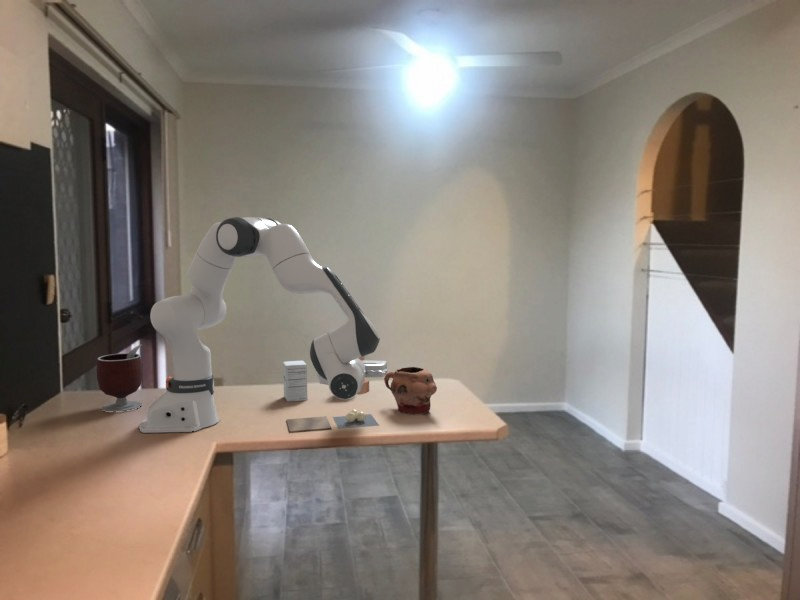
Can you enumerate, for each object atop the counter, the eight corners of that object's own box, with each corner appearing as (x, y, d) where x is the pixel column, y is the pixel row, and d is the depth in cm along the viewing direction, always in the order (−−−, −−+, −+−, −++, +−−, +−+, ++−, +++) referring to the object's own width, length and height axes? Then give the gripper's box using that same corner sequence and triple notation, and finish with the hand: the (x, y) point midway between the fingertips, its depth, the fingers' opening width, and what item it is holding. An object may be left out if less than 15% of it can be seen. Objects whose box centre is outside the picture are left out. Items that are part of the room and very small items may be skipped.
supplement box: (283, 396, 221) (282, 361, 220) (304, 395, 223) (303, 359, 222) (286, 402, 214) (285, 365, 213) (308, 400, 216) (307, 363, 215)
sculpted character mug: (373, 411, 202) (372, 368, 200) (393, 402, 212) (392, 362, 210) (427, 420, 191) (427, 375, 190) (446, 411, 202) (446, 368, 200)
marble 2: (346, 424, 186) (346, 414, 186) (345, 421, 189) (344, 411, 189) (356, 423, 187) (356, 413, 187) (354, 420, 190) (354, 410, 189)
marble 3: (357, 423, 187) (356, 413, 187) (355, 420, 190) (355, 410, 189) (366, 422, 188) (366, 412, 187) (365, 419, 191) (364, 410, 190)
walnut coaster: (289, 434, 179) (289, 431, 179) (286, 422, 190) (286, 419, 190) (331, 431, 182) (331, 427, 181) (326, 419, 193) (326, 416, 193)
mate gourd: (115, 416, 199) (112, 353, 197) (89, 409, 206) (86, 349, 204) (157, 404, 212) (154, 345, 210) (131, 399, 219) (128, 342, 217)
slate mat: (338, 430, 182) (338, 428, 182) (332, 418, 194) (332, 417, 194) (379, 427, 185) (379, 425, 185) (371, 416, 197) (371, 414, 196)
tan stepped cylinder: (341, 395, 183) (341, 351, 182) (337, 388, 192) (336, 346, 190) (371, 393, 185) (371, 350, 184) (365, 386, 194) (365, 345, 192)
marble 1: (350, 421, 189) (350, 411, 189) (348, 418, 192) (348, 408, 192) (360, 420, 190) (360, 410, 190) (358, 417, 193) (358, 408, 192)
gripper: (387, 362, 174) (388, 352, 188) (313, 361, 174) (320, 351, 188) (387, 384, 175) (388, 373, 189) (313, 383, 175) (320, 372, 189)
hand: (354, 362), depth 188 cm, fingers closed on tan stepped cylinder, 6 cm apart
